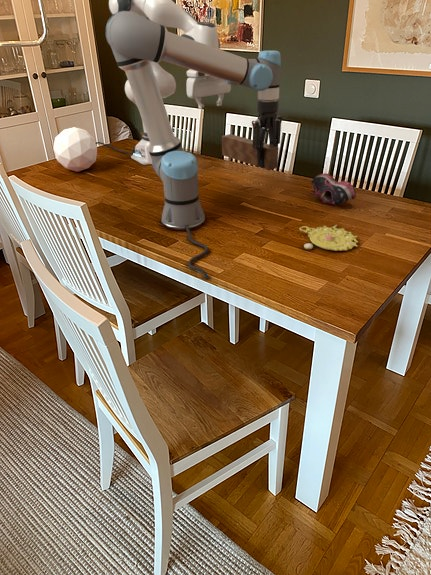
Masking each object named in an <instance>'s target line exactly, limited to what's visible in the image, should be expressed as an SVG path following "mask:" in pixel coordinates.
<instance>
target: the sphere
mask: <svg viewBox="0 0 431 575" xmlns="http://www.w3.org/2000/svg"><path fill="white" fill-rule="evenodd" d="M53 142H54V143H53V148H52V149H53V153H54V156H55V158H56V161H57V162H58V163H59V164H60V165H62V166H63V167H64V168H65V169H66V170H69V171H73V172H76V173H78V172H82V171H84V170H87V169H89V168H90V167H92V165H93V164H95V163H96V161H97V157H98V156H97V155H98V147H97V144H96V140H95V138H94V137H93V135H91V134H90V133H89V132H88V131H87V130H86V129H83V128H81V127H75V126H73V127H68V128H65V129H62V130H61V132H60V133H59V134H58V135H56V136H55V138H54V141H53Z"/></svg>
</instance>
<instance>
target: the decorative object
mask: <svg viewBox="0 0 431 575" xmlns="http://www.w3.org/2000/svg"><path fill="white" fill-rule="evenodd" d="M303 228H304V229H305V230H304V229H303ZM299 231H300V232H303V233H305V234H307V237H308V238H309V240H310V241H311V243H304V244H303V248H304V249H305V250H313V249H314V245H315V246H316V247H318V248H321V249H324V250H328V251H335V252H341V251H348V250H352V249H354V247H356V248H358V247H359V245H358V244H357V243H359V240H357V238H359V237H358V235H353V234H352V231H347V230H346V229H345V228H344V227H342V228H338V224H335V225H333V226H331V227H328V226H327V225H326V224H325V225H323V226H322V227H321V226H317V227H316V228H314V227H309V226H308V225H302V226H300V227H299ZM313 244H314V245H313Z"/></svg>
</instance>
